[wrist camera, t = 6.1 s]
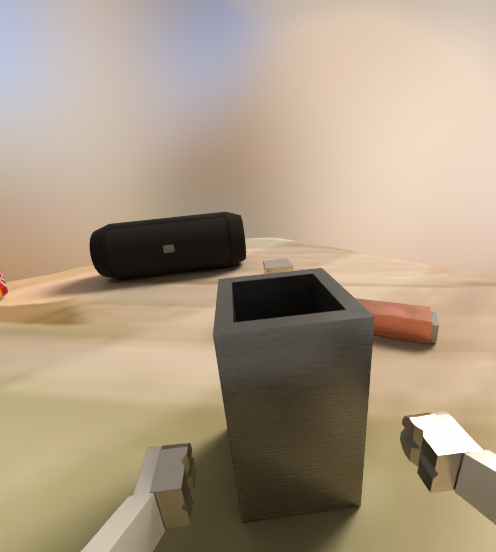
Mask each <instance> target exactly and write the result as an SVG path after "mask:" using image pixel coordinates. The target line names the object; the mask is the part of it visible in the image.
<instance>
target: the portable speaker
mask: <svg viewBox="0 0 496 552" xmlns="http://www.w3.org/2000/svg"><path fill="white" fill-rule="evenodd" d="M90 254H91V259H92V262H93V265H94V267H95V269H96V270H97V272H98V273H99V274H100V275H102V276H105V277H110V278H114V279H121V280H123V279H133V278H141V277H149V276H158V275H166V274H174V273H182V272H191V271H199V270H207V269H215V268H223V267H231V266H233V265H235V264H237V263H239V262H241V261H243V260H245V259H246V245H245V235H244V228H243V222H242V218H241V215H237V214H233V213H229V212H219V213H209V214H200V215H190V216H180V217H172V218H161V219H152V220H142V221H133V222H124V223H114V224H108V225H106V226H104V227H102V228H100V229H98V230H96V231H94V232H93V233H92V235H91V238H90Z"/></svg>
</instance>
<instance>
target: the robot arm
mask: <svg viewBox="0 0 496 552" xmlns="http://www.w3.org/2000/svg"><path fill="white" fill-rule="evenodd" d="M402 424H403V426H404V427H405V428H404V430H403V431H402V432H401V436H400V441H401V445H402V448H403V450H404V453H405V455H406V456H407V458H408V459H409V461H411V462H412V463H413V464H415V465H416V466H418V468H417V473H418V475H419V476H420V478H421V479H422V481H423V482H424V484H425V486H426V487H427V489H428V490H429V492H430V493H433V492H443V491H453V490H455V493H457V494H458V495H459V496H460V497H462V498H463V499H464V500H465V501H467V502H468V503H469V504H470V505H472V506H473V507H474V508H475V509H477V510H478V511H479V512H480V513H482V514H483V515H484V516H485V517H487V518H488V519H489V520H491V521H492V522H493V523H494V524H496V454H494V453H492V452H490V451H489V450H483V449H482V448H481V447H480V446H479V445H478V444H477V443H476V442H475V441H474V440H473V439H472V438H471V437H470V436H469V435H468V434H467V433H466V432H465V431H464V430H463V428H462V427H461V426H460V425H459V424H458V423H457V422H456V421H455V420H454V419H453V418H452V417H451V416H450V415H449V414H448V413H446V412H445V411H442V412H433V413H424V414H416V415H409V416H405V417H404V418H403V420H402ZM191 454H192V447H191V444H190V443H187V444H176V445H166V446H157V447H149V448H148V450H147V452H146V454H145V458H144V461H143V464H142V467H141V471H140V474H139V477H138V480H137V484H136V487H135V490H134V493H133V495H132V496H128V497H127V498H126V500H125V501H124V502H123V503H122V504H121V505H120V507H119V508H118V509H117V510H116V511H115V512H114V514H113V515H112V516H111V517H110V518H109V519H108V521H107V522H106V523H105V524H104V525H103V526H102V528H101V529H100V530H99V531H98V532H97V533H96V535H95V536H94V537H93V538H92V539H91V540H90V542H89V543H88V544H87V545H86V546H85V547H84V549H83V550H82V551H81V552H153V551H154V549H155V547H156V546H157V544H158V542H159V541H160V539H161V537H162V536H163V534H164V532H165V529H168V528H174V527H180V526H186V525H190V523H191V514H192V506H193V501H192V496H191V493H192V491H193V490H194V488H195V471H196V470H195V461H194V458H193V457H191Z"/></svg>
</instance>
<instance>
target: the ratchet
mask: <svg viewBox="0 0 496 552" xmlns="http://www.w3.org/2000/svg"><path fill="white" fill-rule="evenodd" d="M263 267H264V274H271V273H280V272H290V271H293V265H292V264H291V263H290V261H289V260H288V259H277V260H268V261H263ZM355 299H356V298H355ZM356 300H357V301H358V302H359V303H360V304H362V305H363V306H364V307H365V308H366V309H367V310H368V311H369V312H370V313H371V314H372V315H373V316H375V317H374V330H373V335H378V336H384V337H390V338H396V339H402V340H408V341H414V342H420V343H425V344H429V343H434V344H436V340H437V334H438V328H439V324H438V319H437V314H436V313H433V312H431V309H430V307H425V306H416V305H408V304H399V303H390V302H382V301H373V300H364V299H356Z"/></svg>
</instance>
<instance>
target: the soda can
mask: <svg viewBox="0 0 496 552" xmlns="http://www.w3.org/2000/svg"><path fill="white" fill-rule="evenodd" d="M7 293H8V290H7V286H6V283H5V280H4V278H3V275H2V272H1V270H0V300H1V299H3V297H4V296H5V295H6V294H7Z"/></svg>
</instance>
